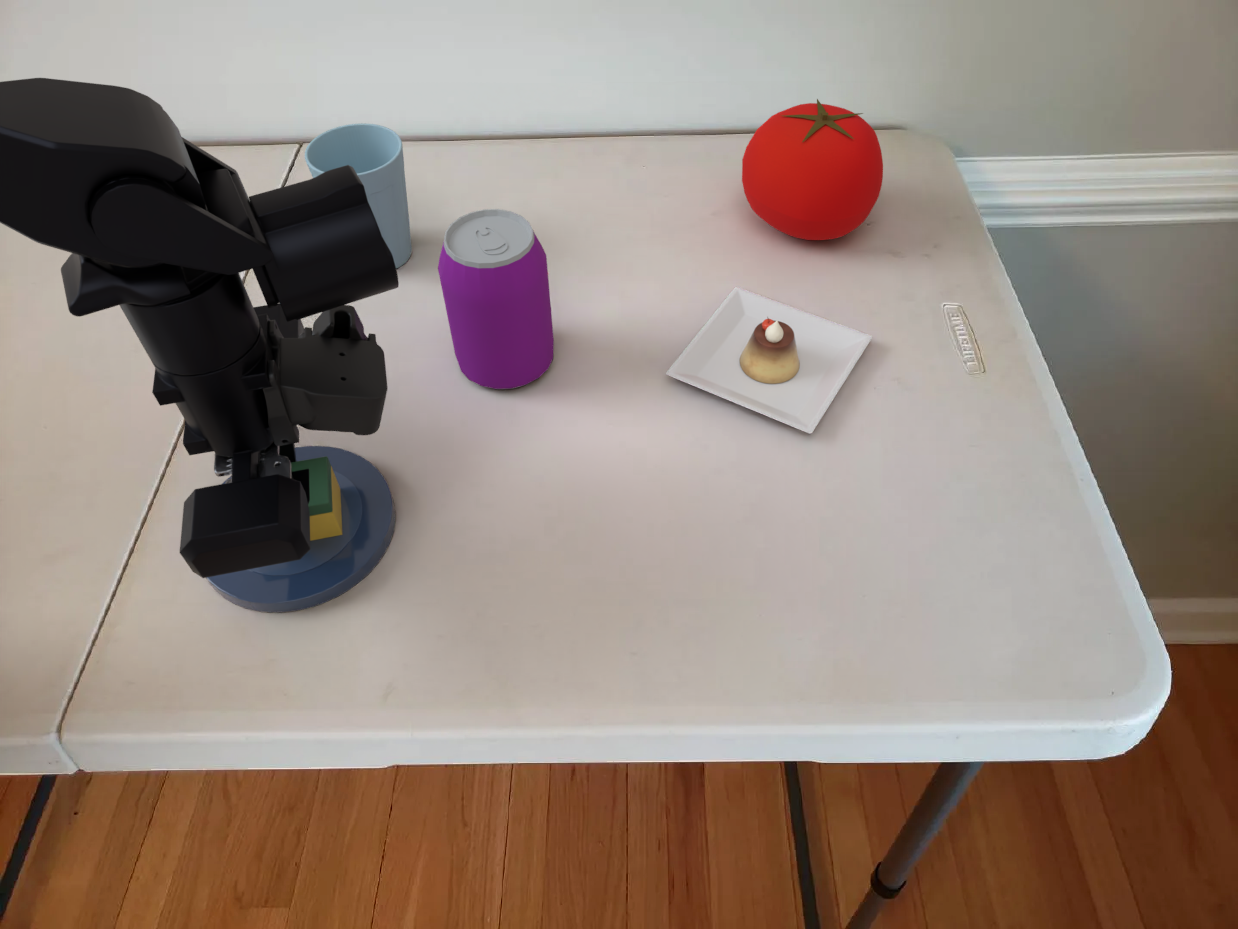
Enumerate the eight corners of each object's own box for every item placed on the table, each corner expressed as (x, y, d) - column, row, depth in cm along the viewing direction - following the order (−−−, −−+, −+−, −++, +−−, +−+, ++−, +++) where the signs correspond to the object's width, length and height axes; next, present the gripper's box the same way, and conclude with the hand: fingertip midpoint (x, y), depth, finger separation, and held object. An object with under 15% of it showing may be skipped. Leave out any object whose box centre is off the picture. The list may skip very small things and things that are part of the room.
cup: (442, 242, 82) (421, 136, 74) (389, 292, 78) (361, 185, 70) (374, 219, 85) (346, 114, 77) (319, 266, 80) (284, 160, 72)
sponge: (248, 552, 60) (230, 520, 57) (250, 504, 62) (232, 472, 59) (342, 535, 60) (329, 502, 58) (340, 488, 63) (327, 455, 60)
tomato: (892, 212, 85) (920, 105, 76) (833, 279, 79) (857, 171, 70) (778, 170, 89) (793, 65, 81) (714, 230, 83) (723, 124, 75)
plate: (192, 630, 57) (184, 620, 56) (206, 473, 66) (199, 462, 65) (402, 591, 59) (398, 580, 58) (390, 442, 67) (386, 431, 66)
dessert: (734, 296, 77) (740, 249, 74) (870, 346, 73) (882, 299, 70) (664, 384, 71) (666, 337, 67) (809, 444, 67) (819, 398, 63)
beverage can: (443, 348, 74) (416, 222, 64) (530, 317, 76) (516, 191, 67) (481, 409, 69) (457, 284, 60) (572, 374, 72) (563, 248, 62)
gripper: (369, 441, 44) (427, 608, 56) (351, 211, 55) (403, 390, 67) (124, 485, 42) (238, 646, 54) (158, 239, 54) (246, 417, 66)
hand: (291, 512), depth 61 cm, fingers closed on sponge, 4 cm apart
